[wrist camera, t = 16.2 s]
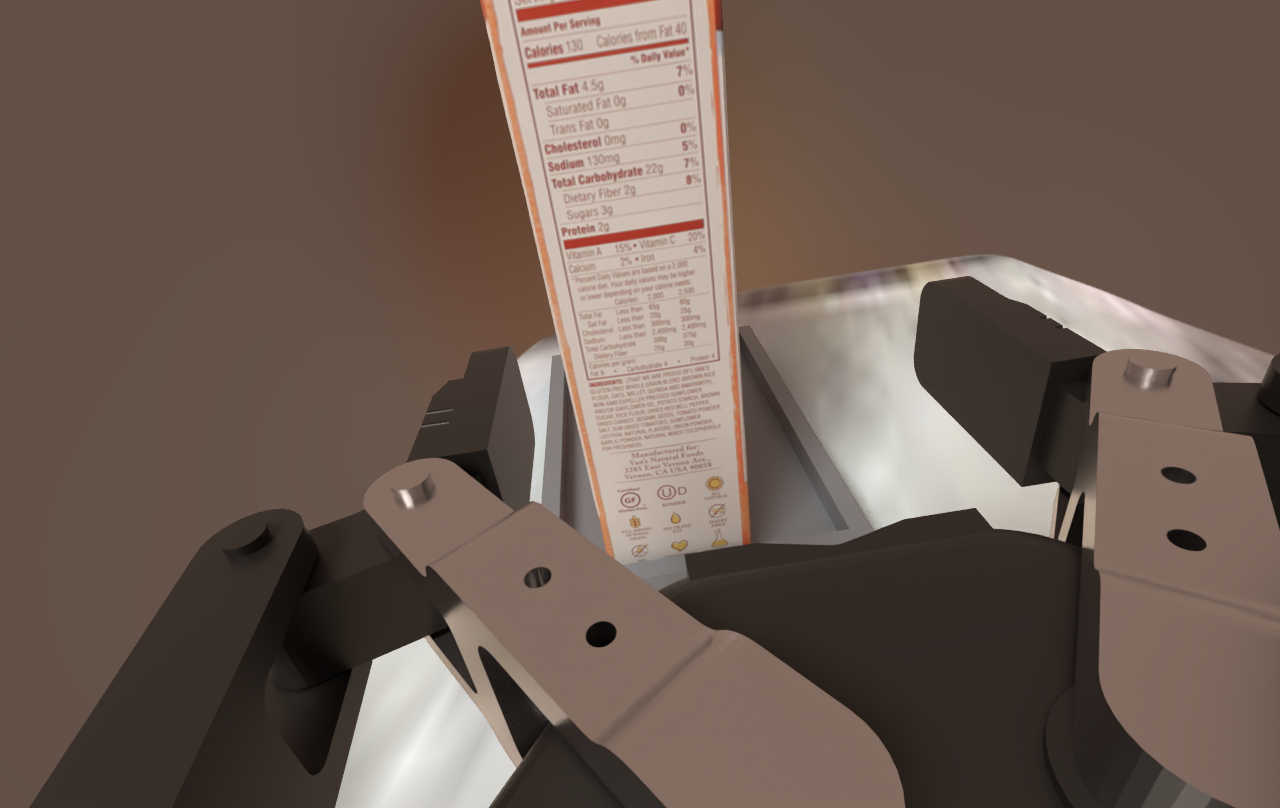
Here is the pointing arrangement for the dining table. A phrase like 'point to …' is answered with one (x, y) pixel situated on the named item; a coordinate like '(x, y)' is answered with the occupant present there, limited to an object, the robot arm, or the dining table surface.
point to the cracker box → (636, 254)
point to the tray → (776, 470)
